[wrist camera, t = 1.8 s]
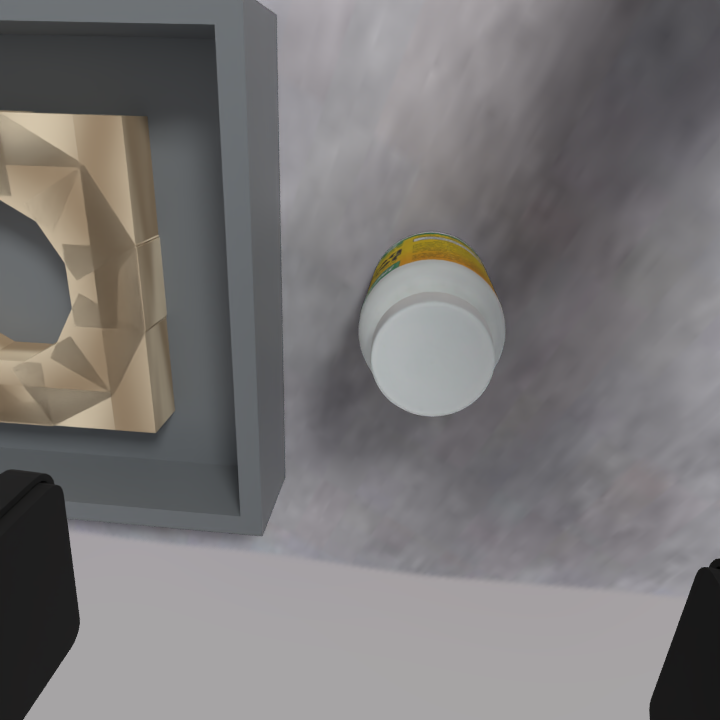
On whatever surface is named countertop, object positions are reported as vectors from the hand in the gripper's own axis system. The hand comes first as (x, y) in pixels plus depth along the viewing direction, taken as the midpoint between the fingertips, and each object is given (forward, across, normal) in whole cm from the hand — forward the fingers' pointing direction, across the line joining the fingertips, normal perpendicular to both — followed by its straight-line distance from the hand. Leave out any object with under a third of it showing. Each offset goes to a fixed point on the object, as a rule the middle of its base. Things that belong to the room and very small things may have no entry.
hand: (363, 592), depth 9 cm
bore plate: (+20, +18, +2) cm, 27 cm away
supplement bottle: (+21, -1, +1) cm, 21 cm away
